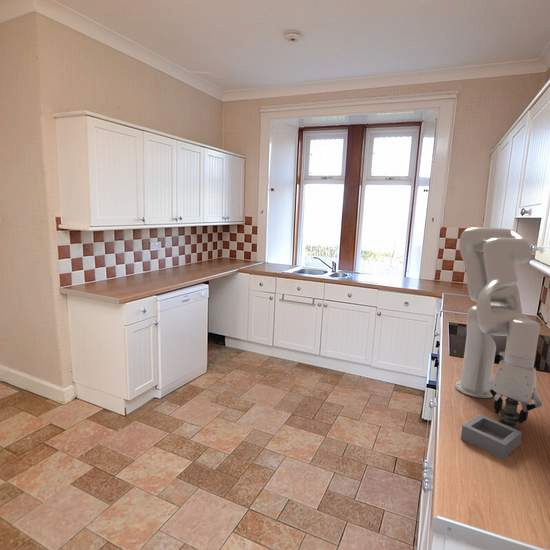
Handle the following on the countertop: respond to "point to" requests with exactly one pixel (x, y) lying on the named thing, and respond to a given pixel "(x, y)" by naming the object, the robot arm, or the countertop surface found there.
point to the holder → (491, 436)
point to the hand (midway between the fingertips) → (509, 416)
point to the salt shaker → (510, 413)
